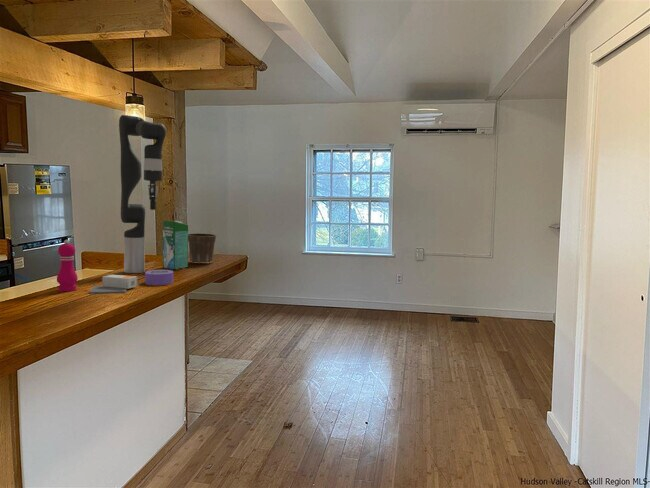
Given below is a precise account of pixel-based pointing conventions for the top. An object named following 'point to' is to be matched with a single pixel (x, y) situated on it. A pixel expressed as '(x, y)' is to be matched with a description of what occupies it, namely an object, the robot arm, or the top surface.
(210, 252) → the plant pot
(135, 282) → the skincare box
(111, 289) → the mat
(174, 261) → the milk carton
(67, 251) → the pepper mill
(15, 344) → the top surface
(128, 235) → the robot arm
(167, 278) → the tape roll
